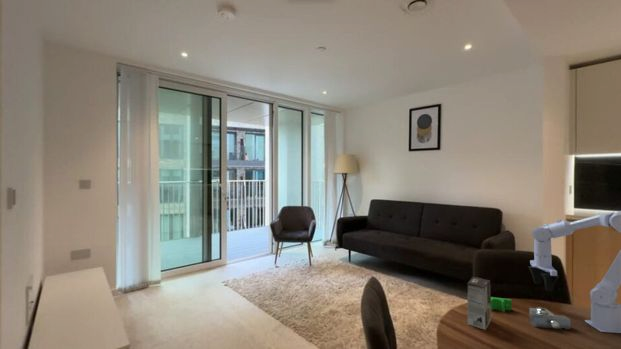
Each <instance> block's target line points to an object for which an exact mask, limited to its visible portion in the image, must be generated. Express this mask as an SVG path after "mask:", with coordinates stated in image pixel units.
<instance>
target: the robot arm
mask: <svg viewBox="0 0 621 349" xmlns="http://www.w3.org/2000/svg"><path fill="white" fill-rule="evenodd" d="M595 226H602V227H606V228H610V227H612V228H613V229H615V230H616V231H617V232H619V233H620V234H621V210H619V211H618V212H615V211H613V212H607V213H600V214H596V215H592V216H589V217H585V218H582V219H578V220H574V221H571V222H570V221H568V220H566V219H565V220H562V219H559V220H556V222H553V223H552V222H551V223H550V224H548V223H545V224H543V225H540V226H538V227H535V228H534V229H533V230H532V231H531V232H532V233H531V234H532V237H533V239H534V240H533V242H534V243H533V256H534V259H531V260H529V263H530V266H529V265H528V266H527V268H528V269H529V272H530V273H531V274H530V275H532V280H533V282H534V284H535V285H541V284H542V279H543V282H544V289H545V291H546V292H553V290H554V287H555V284H556V283H557V280H558V279H559V278H560V275H558V271H557V270H556V269H555V268H554V266H552V239H556V238H557V239H558V238H561V237H565V236H566V237H567V236H570V235H571V236H572V235H573V234H574V232H575V231H577V230H580V229H581V230H582V229H585V228H591V227H595ZM620 286H621V249H620V250H619V252H618V253H617V255H616V257H615V258H614V260H613V261H612V264H611V265H610V266H609V268H608V270H607V272H606V273H605V275H604V276H603V278H602V279H601V281H600V282H598V283H597V284H596V285H595V286H594V287H593V288H591V290H590V291H589V297H590V319H585V320H584V322H585V323H587V324H588V325H590V326H591V327H593V328H594V329H596V330H597V331H599V332H602V333H613V334H615V333H616V334H621V303H618V302H617V300H616V299H617V298H618V297H619V288H620Z"/></svg>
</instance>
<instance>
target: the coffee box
mask: <svg viewBox="0 0 621 349" xmlns="http://www.w3.org/2000/svg"><path fill="white" fill-rule="evenodd" d="M466 284H467V286H466V287H467V288H466V289H467V291H466V292H467V325H469V326H472V327H475V328H477V329H478V328H479V329H482V330H484V331H486V330H487V328H488V327H489V325H490V323H491V321H492V310H491V297H492V296H491V280H490V279H484V278H481V277H478V276H477V277H475V276H472V277H471V279H470V280H469V281H468V282H467V283H466Z"/></svg>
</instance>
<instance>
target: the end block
mask: <svg viewBox="0 0 621 349" xmlns="http://www.w3.org/2000/svg"><path fill="white" fill-rule="evenodd" d="M529 317H530V324H531V326H533V327H534V328H546V329H547V328H550V329H555V330H557V329H562V328H565V330H571V325H572V324H571V319H570V318H569V317H567V316H566V315H557V314H554V315H538V314H530V315H529Z"/></svg>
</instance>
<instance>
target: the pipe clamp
mask: <svg viewBox="0 0 621 349" xmlns="http://www.w3.org/2000/svg"><path fill="white" fill-rule="evenodd" d="M512 302H513V301H512V299H511V298H502V297H494V296H491V311H493V310H498V309H499V311H500V312H502V311H503V312H502V313H505V312H506V311H510V310H513V306H512V305H513V304H512Z"/></svg>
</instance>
